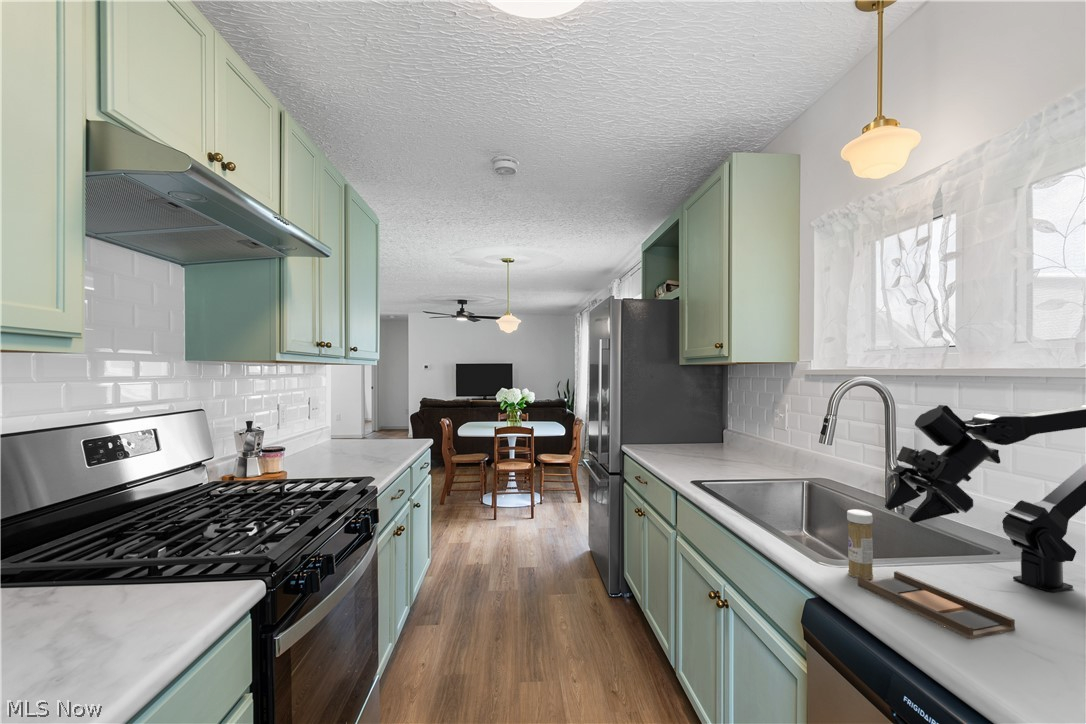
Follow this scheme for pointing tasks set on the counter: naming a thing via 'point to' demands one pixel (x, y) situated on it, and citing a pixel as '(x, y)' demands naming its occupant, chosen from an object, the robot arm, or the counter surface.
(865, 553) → the sprinkles bottle
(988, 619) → the board
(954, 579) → the counter surface
